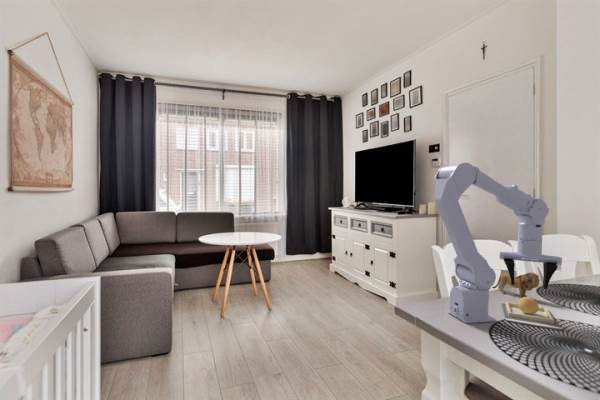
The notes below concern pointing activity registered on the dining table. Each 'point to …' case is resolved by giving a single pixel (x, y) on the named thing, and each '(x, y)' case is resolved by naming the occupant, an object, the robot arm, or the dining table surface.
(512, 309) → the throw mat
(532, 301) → the ball
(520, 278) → the lion figurine
